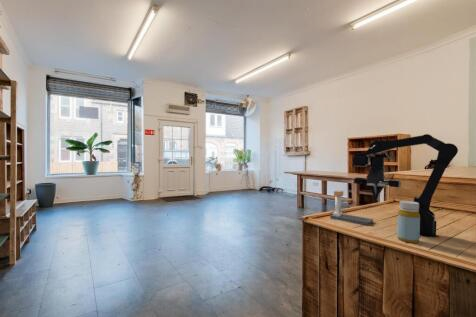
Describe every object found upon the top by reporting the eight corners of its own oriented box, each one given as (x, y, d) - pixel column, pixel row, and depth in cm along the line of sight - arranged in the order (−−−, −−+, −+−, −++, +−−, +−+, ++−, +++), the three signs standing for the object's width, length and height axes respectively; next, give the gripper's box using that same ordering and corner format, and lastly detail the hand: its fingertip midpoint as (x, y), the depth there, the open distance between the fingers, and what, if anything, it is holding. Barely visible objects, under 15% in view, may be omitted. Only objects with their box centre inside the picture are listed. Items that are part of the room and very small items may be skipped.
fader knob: (343, 214, 127) (344, 191, 127) (340, 216, 124) (340, 192, 123) (336, 213, 130) (336, 190, 130) (332, 214, 126) (332, 191, 126)
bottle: (423, 244, 89) (424, 204, 89) (402, 242, 91) (403, 203, 91) (413, 238, 96) (414, 201, 96) (394, 236, 98) (395, 200, 98)
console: (373, 222, 119) (373, 219, 119) (368, 225, 113) (368, 222, 113) (336, 215, 132) (336, 212, 132) (330, 218, 125) (330, 215, 125)
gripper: (350, 166, 114) (349, 199, 114) (396, 168, 101) (395, 205, 102) (357, 166, 122) (357, 196, 122) (401, 168, 109) (400, 202, 110)
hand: (375, 200), depth 114 cm, fingers closed
